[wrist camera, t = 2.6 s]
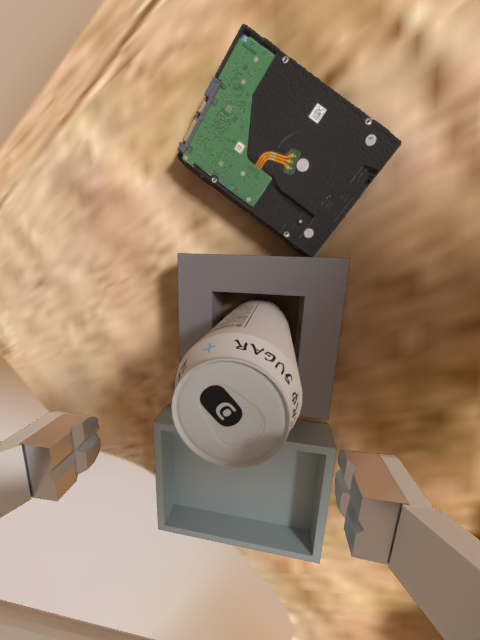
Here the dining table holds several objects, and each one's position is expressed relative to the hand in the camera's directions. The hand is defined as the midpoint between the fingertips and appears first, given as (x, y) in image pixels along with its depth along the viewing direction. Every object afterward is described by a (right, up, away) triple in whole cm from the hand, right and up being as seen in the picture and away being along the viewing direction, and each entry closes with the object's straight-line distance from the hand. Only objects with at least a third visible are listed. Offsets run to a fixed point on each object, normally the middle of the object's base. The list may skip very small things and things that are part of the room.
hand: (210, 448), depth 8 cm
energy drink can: (+3, +4, +16) cm, 17 cm away
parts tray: (+1, -13, +20) cm, 24 cm away
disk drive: (+5, +18, +13) cm, 23 cm away
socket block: (+3, +4, +16) cm, 17 cm away
